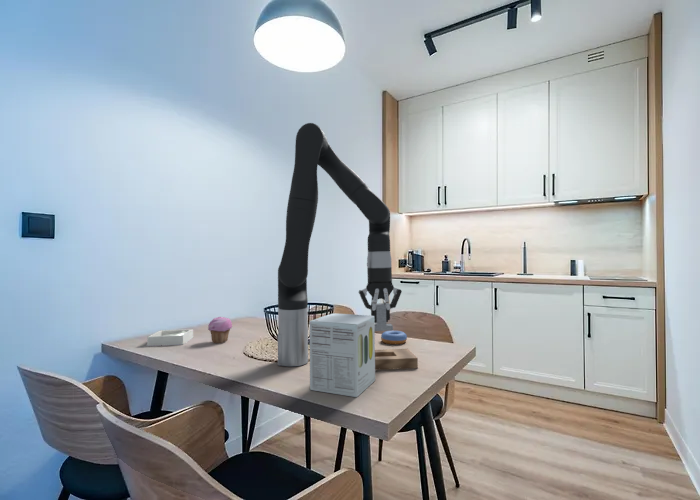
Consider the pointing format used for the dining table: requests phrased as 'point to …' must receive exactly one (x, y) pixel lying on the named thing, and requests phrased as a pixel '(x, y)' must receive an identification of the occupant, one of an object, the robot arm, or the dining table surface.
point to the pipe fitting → (176, 333)
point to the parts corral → (169, 337)
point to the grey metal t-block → (382, 318)
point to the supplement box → (342, 353)
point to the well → (395, 359)
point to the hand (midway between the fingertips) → (380, 321)
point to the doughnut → (393, 337)
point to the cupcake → (220, 329)
